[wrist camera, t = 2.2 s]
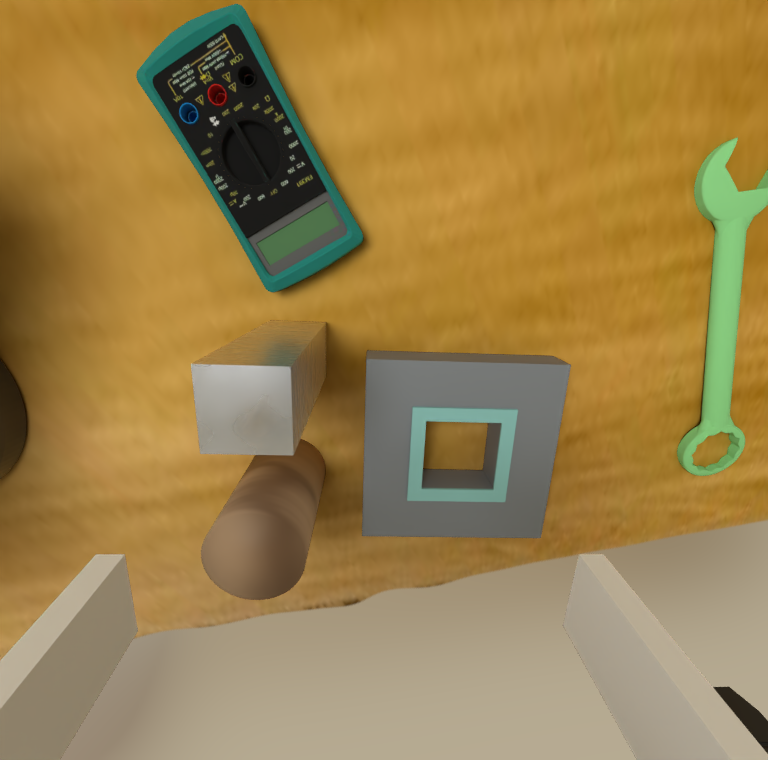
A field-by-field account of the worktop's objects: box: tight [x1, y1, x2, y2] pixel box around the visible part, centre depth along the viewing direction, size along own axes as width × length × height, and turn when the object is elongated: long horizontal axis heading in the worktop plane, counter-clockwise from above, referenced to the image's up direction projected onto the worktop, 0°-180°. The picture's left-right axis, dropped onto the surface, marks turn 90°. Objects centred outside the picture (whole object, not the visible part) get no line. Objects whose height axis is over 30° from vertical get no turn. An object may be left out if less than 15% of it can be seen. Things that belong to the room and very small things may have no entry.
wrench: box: [677, 138, 768, 476], centre depth 29 cm, size 25×2×5 cm
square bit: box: [191, 320, 326, 455], centre depth 23 cm, size 4×4×13 cm
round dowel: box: [201, 439, 326, 600], centre depth 27 cm, size 6×6×10 cm
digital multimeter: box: [137, 4, 363, 292], centre depth 25 cm, size 7×15×3 cm, turn 29°
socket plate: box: [362, 350, 571, 538], centre depth 30 cm, size 14×14×3 cm
